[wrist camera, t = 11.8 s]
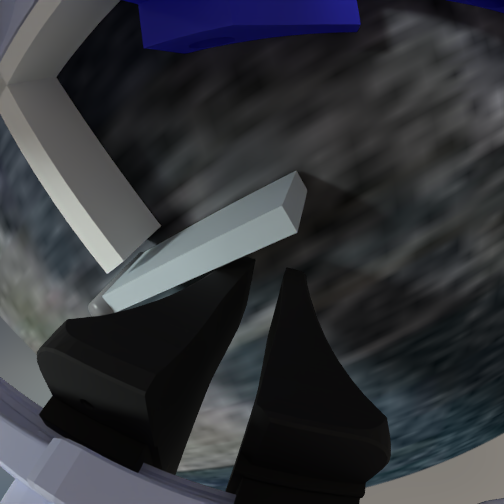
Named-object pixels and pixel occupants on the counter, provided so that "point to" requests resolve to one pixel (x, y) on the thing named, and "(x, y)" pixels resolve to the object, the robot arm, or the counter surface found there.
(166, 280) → the gate
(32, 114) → the bracket
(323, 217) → the counter surface
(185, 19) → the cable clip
